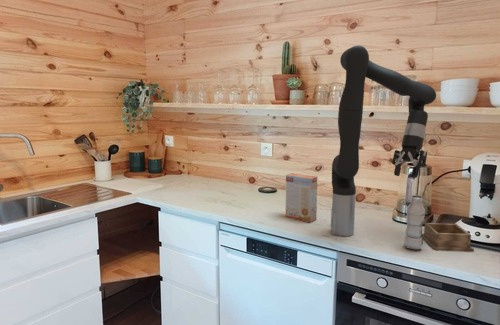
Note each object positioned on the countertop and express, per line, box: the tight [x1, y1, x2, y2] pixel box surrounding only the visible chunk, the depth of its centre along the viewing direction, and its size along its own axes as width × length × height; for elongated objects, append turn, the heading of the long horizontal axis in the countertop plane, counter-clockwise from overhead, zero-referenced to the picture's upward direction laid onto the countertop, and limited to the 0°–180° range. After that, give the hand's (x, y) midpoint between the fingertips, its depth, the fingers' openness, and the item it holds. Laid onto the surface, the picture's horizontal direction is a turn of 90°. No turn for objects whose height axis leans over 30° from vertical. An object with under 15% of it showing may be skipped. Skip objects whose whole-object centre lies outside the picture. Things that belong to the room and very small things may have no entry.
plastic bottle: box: [403, 194, 426, 251], centre depth 132 cm, size 6×7×20 cm
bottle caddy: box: [422, 222, 475, 253], centre depth 138 cm, size 14×14×6 cm
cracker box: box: [285, 173, 318, 223], centre depth 167 cm, size 14×6×21 cm, turn 48°
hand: (405, 176), depth 140 cm, fingers open, 8 cm apart
